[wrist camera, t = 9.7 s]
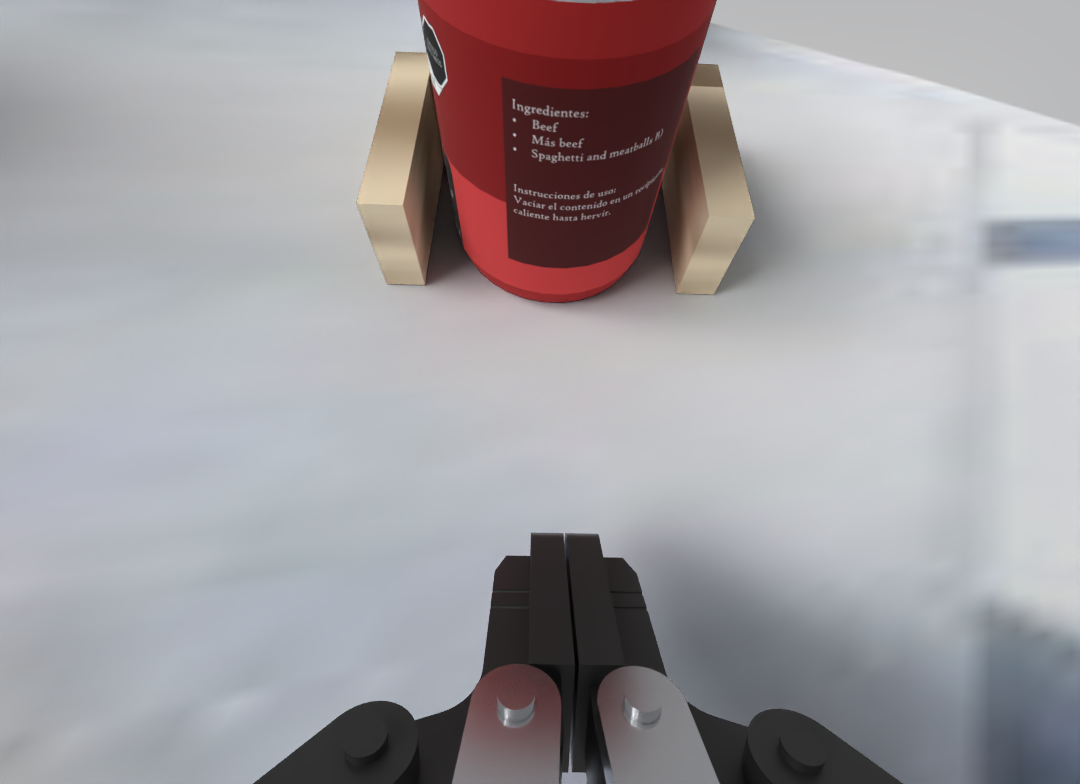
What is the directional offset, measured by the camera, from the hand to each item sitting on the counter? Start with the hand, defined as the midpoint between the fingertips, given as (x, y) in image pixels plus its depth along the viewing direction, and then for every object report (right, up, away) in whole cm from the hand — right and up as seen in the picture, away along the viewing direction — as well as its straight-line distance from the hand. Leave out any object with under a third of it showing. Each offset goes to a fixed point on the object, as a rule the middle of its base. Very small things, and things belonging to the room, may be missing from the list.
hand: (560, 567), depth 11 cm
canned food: (0, +11, +10) cm, 15 cm away
